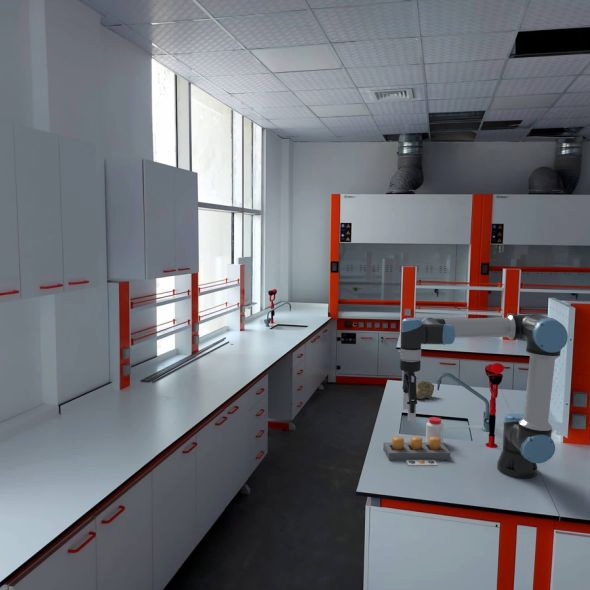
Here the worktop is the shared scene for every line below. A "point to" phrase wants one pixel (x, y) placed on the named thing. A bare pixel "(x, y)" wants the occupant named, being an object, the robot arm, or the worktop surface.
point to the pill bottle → (434, 428)
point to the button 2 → (434, 443)
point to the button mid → (416, 443)
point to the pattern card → (421, 463)
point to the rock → (424, 389)
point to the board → (416, 452)
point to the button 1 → (398, 443)
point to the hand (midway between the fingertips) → (408, 415)
